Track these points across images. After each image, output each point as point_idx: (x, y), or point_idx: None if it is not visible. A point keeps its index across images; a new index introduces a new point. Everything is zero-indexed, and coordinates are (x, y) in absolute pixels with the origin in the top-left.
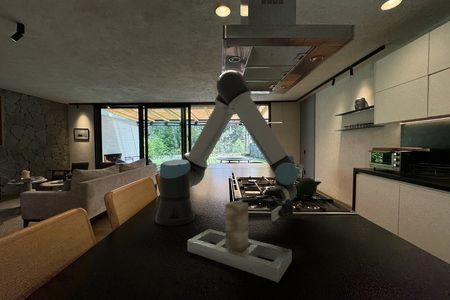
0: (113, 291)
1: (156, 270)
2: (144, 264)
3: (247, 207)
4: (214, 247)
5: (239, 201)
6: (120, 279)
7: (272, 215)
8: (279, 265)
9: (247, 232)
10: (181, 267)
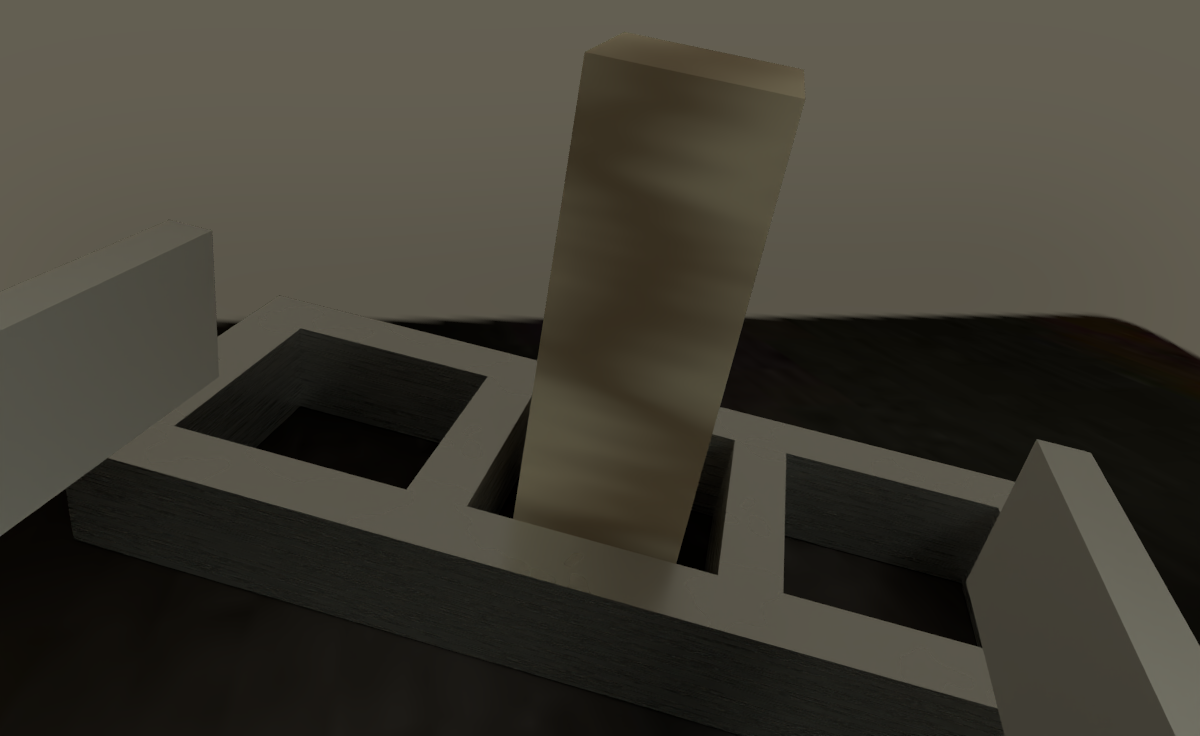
0: (943, 325)
1: (946, 403)
2: (1053, 431)
3: (580, 105)
4: (767, 429)
5: (1144, 679)
6: (1003, 361)
7: (199, 290)
8: (262, 311)
9: (537, 382)
10: (861, 426)
